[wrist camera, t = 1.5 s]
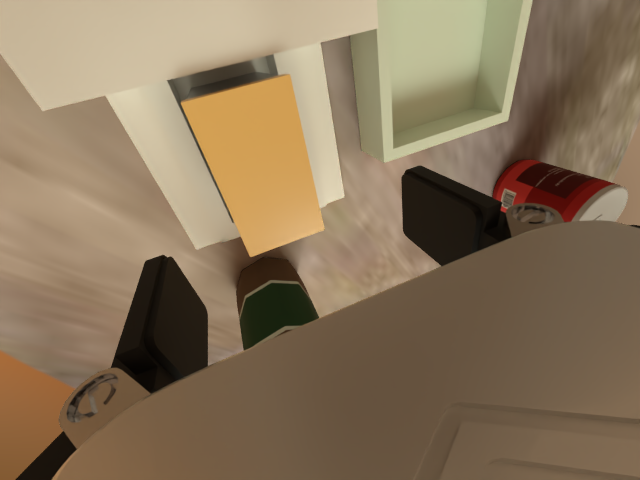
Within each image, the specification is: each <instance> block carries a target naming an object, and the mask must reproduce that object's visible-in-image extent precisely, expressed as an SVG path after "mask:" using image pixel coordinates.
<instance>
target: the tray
mask: <svg viewBox="0 0 640 480" xmlns="http://www.w3.org/2000/svg"><path fill="white" fill-rule="evenodd" d="M532 1H533V0H377V11H378V28H377V29H373V30H369V31H365V32H361V33H357V34H353V35H350V43H351V53H352V63H353V73H354V82H355V92H356V102H357V112H358V121H359V131H360V141H361V150H362V151H363V152H365V153H367V154H369V155H371V156H372V157H374V158H376V159H378V160H380V161H381V162H383V163H385V162H388V161H391V160H394V159H397V158H400V157H403V156H406V155H409V154H412V153H415V152H418V151H421V150H424V149H426V148H429V147H432V146H435V145H438V144H441V143H444V142H447V141H450V140H453V139H456V138H459V137H462V136H465V135H467V134H470V133H473V132H476V131H479V130H482V129H485V128H488V127H491V126H494V125H497V124H500V123H503V122H506V121H508V118H509V113H510V108H511V103H512V98H513V93H514V89H515V84H516V79H517V74H518V69H519V64H520V59H521V54H522V50H523V45H524V40H525V35H526V30H527V25H528V20H529V15H530V10H531V6H532Z"/></svg>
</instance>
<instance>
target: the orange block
mask: <svg viewBox="0 0 640 480" xmlns="http://www.w3.org/2000/svg"><path fill="white" fill-rule="evenodd" d="M181 105H182V108H183V110H184V112H185V114H186V116H187V119H188V121H189V123H190V125H191V127H192V130H193V132H194V134H195V136H196V138H197V141H198V143H199V145H200V147H201V150H202V152H203V154H204V156H205V158H206V161H207V163H208V165H209V167H210V169H211V172H212V174H213V176H214V178H215V180H216V183H217V185H218V187H219V189H220V192H221V194H222V196H223V198H224V200H225V203H226V205H227V207H228V209H229V211H230V214H231V216H232V218H233V220H234V222H235V225H236V227H237V229H238V231H239V234H240V236H241V238H242V240H243V242H244V245H245V247H246V249H247V251H248V253H249V256H250V257H253V256H255V255H258V254H261V253H264V252H266V251H269V250H272V249H274V248H277V247H280V246H282V245H285V244H288V243H290V242H293V241H296V240H298V239H301V238H304V237H306V236H309V235H312V234H315V233H317V232H320V231H323V230H325V229H324V225H323V220H322V216H321V211H320V207H319V202H318V198H317V193H316V189H315V184H314V180H313V175H312V171H311V166H310V162H309V157H308V153H307V148H306V144H305V139H304V135H303V130H302V126H301V121H300V117H299V112H298V108H297V103H296V99H295V94H294V90H293V85H292V80H291V76H290V74H281V75H273V74H268V73H262V72H253V73H249V74H245V75H241V76H237V77H233V78H229V79H225V80H221V81H218V82H214V83H210V84H206V85H202V86H198V87H194V88H191V90H190V92H189V94H188V96H187V99H186V100H182V101H181Z"/></svg>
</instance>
